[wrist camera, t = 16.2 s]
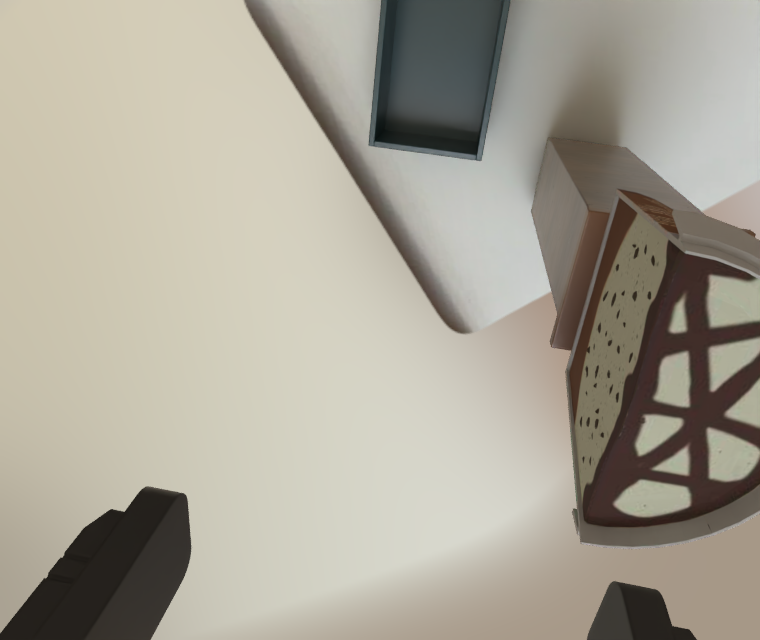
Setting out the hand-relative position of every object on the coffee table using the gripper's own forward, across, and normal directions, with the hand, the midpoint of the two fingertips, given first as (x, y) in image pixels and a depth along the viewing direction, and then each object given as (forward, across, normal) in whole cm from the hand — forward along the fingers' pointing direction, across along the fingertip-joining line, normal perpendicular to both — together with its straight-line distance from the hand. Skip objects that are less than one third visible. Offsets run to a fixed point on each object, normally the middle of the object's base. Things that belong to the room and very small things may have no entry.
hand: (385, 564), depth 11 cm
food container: (+18, -10, +1) cm, 21 cm away
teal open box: (+40, +2, -8) cm, 41 cm away
